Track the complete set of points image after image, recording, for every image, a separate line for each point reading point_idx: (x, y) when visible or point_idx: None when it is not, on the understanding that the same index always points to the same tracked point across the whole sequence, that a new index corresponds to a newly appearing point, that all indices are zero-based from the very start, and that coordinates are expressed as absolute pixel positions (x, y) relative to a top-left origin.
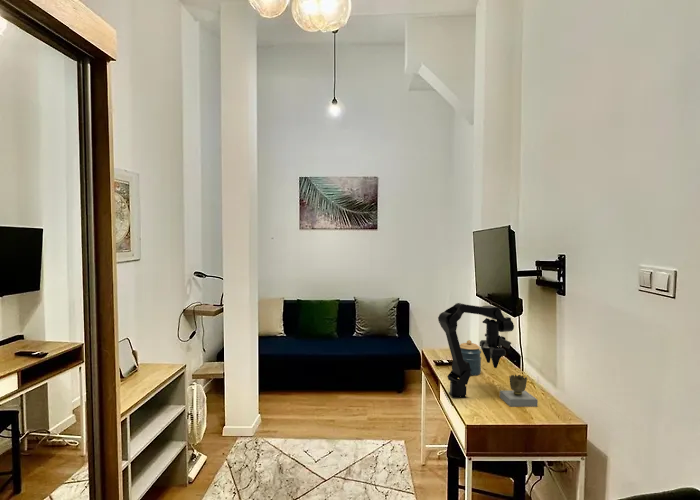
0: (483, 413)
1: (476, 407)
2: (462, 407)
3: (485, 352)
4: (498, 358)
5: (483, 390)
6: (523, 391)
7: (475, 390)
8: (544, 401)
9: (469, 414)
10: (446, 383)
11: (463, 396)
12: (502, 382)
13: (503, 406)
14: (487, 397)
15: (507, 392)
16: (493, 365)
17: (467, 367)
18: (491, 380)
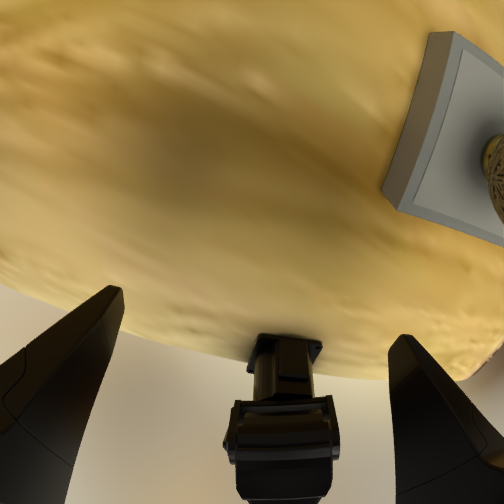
0: (458, 341)
1: None
2: None
3: (66, 458)
4: (484, 449)
5: (235, 214)
6: (471, 67)
7: (226, 259)
8: (500, 9)
9: None
10: None
11: (314, 352)
12: (93, 2)
13: (471, 253)
14: (356, 258)
15: (447, 190)
16: (393, 384)
17: (331, 474)
18: (47, 65)
